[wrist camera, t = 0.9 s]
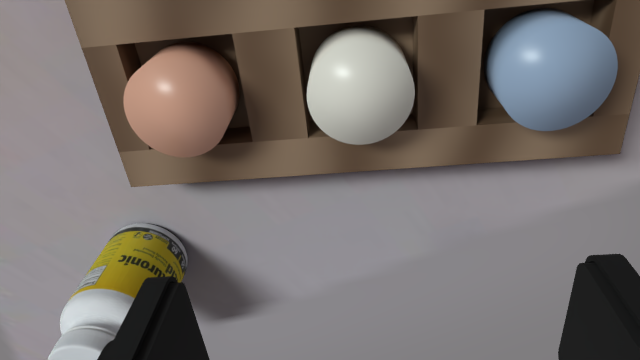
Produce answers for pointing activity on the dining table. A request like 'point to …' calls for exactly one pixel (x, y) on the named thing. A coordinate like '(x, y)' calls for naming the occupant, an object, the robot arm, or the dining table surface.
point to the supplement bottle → (115, 288)
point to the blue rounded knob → (550, 69)
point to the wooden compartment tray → (294, 69)
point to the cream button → (360, 86)
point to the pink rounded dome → (182, 99)
